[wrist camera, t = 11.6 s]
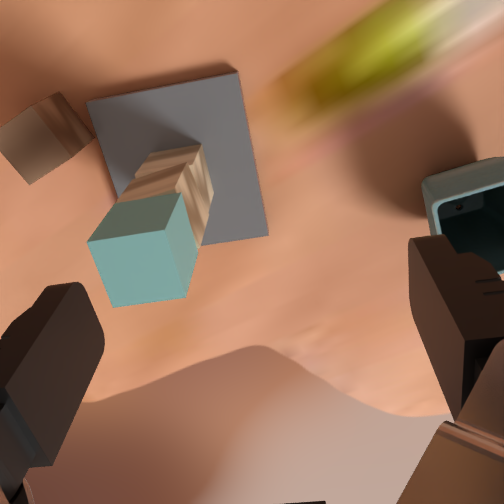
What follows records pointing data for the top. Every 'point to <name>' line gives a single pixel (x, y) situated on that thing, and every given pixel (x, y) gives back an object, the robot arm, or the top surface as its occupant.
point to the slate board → (187, 134)
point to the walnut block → (43, 137)
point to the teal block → (145, 250)
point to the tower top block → (171, 183)
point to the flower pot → (469, 208)
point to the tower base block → (179, 156)
